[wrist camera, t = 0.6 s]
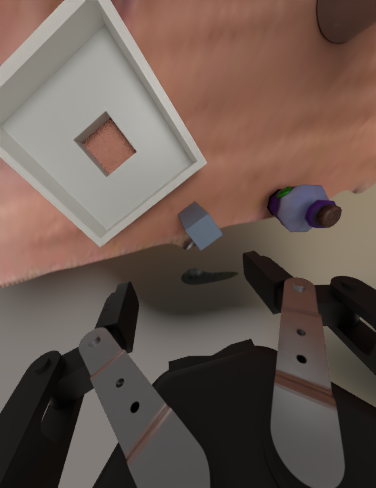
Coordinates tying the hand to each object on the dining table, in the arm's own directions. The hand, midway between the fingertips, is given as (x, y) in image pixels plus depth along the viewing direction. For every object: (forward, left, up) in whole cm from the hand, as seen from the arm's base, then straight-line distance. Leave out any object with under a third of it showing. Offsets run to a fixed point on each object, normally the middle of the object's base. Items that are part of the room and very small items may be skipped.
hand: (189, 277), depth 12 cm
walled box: (+1, -13, -23) cm, 26 cm away
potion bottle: (-19, +13, -23) cm, 32 cm away
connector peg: (-3, +4, -23) cm, 23 cm away
